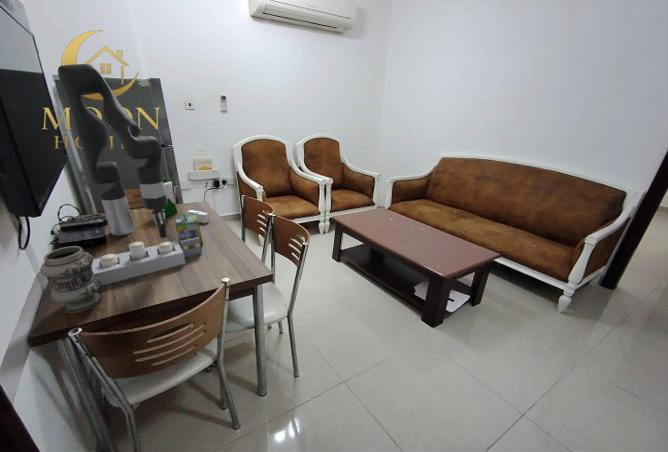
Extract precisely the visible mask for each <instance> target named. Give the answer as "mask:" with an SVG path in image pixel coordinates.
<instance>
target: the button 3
mask: <svg viewBox="0 0 668 452" xmlns="http://www.w3.org/2000/svg"><path fill="white" fill-rule="evenodd" d="M171 242H172V241H165V242H164V241H163V242H160V243H159V244H157V245H158V247H159V251H160V254H164V253H168V252H173V247H172V243H171Z"/></svg>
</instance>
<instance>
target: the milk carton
mask: <svg viewBox="0 0 668 452" xmlns="http://www.w3.org/2000/svg"><path fill="white" fill-rule="evenodd" d="M162 181H163V184H164V187H165V192H166V197H167V201H168V205H167V206H166V207H164V208H162V209H163V210H164V212H165V218H170V217H173V216H174V215H177V214H178V209H177V206H176V202H175V195H174V192H173V181H169V180H168V178H167V177H162Z"/></svg>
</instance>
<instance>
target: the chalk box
mask: <svg viewBox="0 0 668 452" xmlns="http://www.w3.org/2000/svg"><path fill="white" fill-rule="evenodd" d="M181 212H182V215H183V216H179V217H175V224H174V225H175V229H176V233H177V236H178V243H179V245H180V247H181V242H180V241H184V240H189V239H193V238H198V237H199V238H200V244H201V246H203V245H204V242H203V237H202V236H203V235H202V232H201V228H200V222H199V221H198V216H197V215H194V216H188V215H186V214H185V212H184V211H181ZM181 249H182V247H181Z"/></svg>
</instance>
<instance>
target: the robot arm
mask: <svg viewBox="0 0 668 452" xmlns="http://www.w3.org/2000/svg"><path fill="white" fill-rule="evenodd" d="M57 75H58V79H59V81H60V85H61V87H62V89H63V92H64V94H65V96H66V99H67V103H68V105H69V107H70V110H71V114H72V117H73V120H74V124H75V129H76V131H77V136H78V139H79V142H80V143H81V144H80V145H81V147H82V150H83V152H84V154H83V155H84V156H85V160H86V161H85V163H86V166H87V172H88V175H89V178H90V180H91V182H92V183H93V184H95V185H105V184H112V185H110V187H108V188H107V189H104V190H102V191H100V193H99V198H100V200H101V204H102V205H103V209H104V212H105V217H106V219H107V223H108V225H109V226H108V227H109V229H110V232H111V235H113V236H125V235H128V234H129V235H130V234H132V233H134V232H135V231H136V229H135V225H134V221H133V217H132V214H131V210H130V207H129V202H128V199H127V195H126V192H125V189H124V185H123V180H122V174H121V170H120V167H119V165H118V164H117V162H115V161H105V162H104V161H102V162H99V157H100V156H101V155H102V153H104V151H105V150H106V148H107V146H108V144H109V143H110V139H109V138H110V137H109V133H108V127H107V126H106V124H108V126H109V127H110V128H111V129H112V131H114V133H115V134H116V135H117V136H118V139H119V141H120V143H121V144H122V147H123V150H124V152H125V154H126V155H127V156H128V157H130V158H131V159H133V160H144V159H146V160H145V163H143V164H141V165H139V166H138V167H137V168H136V173H137V179H138V183H139V190H140V194H141V198H142V201H143V202H142V203H143V206H144V208H145V209H147V210H151V216H152V218H153V221H154V223H155V225H156V228H157V230H158V235H159V236H160V239H166V238H167V237H168V235H167V230H166V229H167V220H166V217H165V212H164V210H163V209H162V208H164V207H166V206H167V205H168V201H167V197H166V192H165V187H164V184H163V181H162V178H163V177H162V172H161V162H162V146H161V143H160V141H159V140H158V139H157V138H156V137H155V136H150V135H147V136H140V134H141V129H140V126H139V125H138V124H137V122H135V121H134V119H133V118H132V117H131V116H130V114H129V113H128V112H127V111H126V110H125V109H124V107H123V105H122V104H121V103H120V102H119V99H117V97H116V96H115V94H114V92H113V90H112V89H111V87H110V86H109V85H108V83H107V81H106V79H105V78H104V76H103V75H102V74H101V72H100V71H99V70H98V69H97V68H96V67H95V66H93V65H92V64H89V63H78V64H65V65H60V66H58V68H57ZM95 94H99V95H100V96H101V97H102V99H103V106H102V107H103V108H102V112H103V117H104V120H105V121H106V123H105V122H104V121H103V120H102V118H101V117H100V116H98V115H97V114H95V113H94V112H93V111H92V110H90V109H89V108H88V107H87V106H86V105H85V104H84V102H83V99H82V96H87V95H95Z"/></svg>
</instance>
